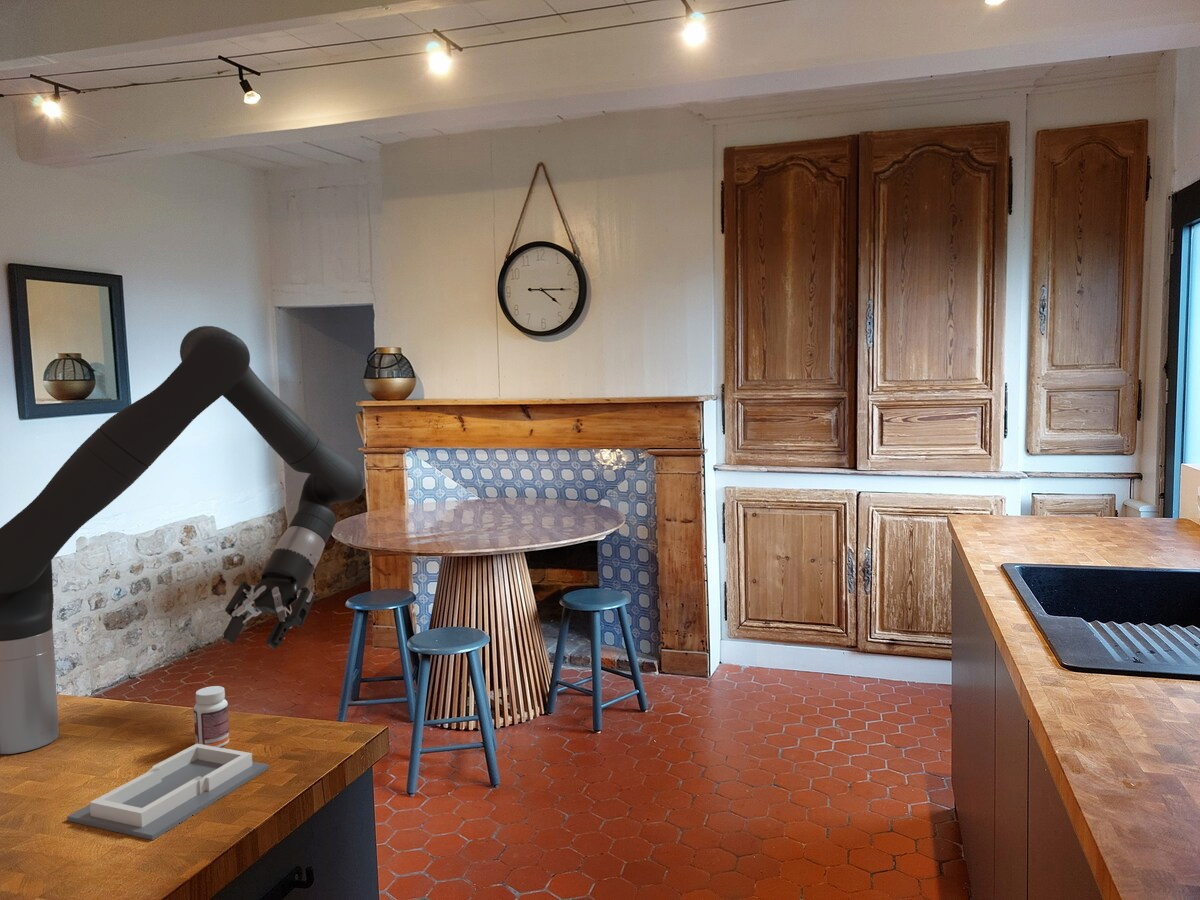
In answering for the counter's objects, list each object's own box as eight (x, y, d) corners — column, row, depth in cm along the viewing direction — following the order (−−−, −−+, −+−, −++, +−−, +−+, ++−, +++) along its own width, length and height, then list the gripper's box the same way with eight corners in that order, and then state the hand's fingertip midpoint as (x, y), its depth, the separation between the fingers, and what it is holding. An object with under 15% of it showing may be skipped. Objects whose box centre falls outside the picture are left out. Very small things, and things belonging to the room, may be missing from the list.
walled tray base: (67, 820, 107) (66, 802, 107) (192, 754, 126) (191, 738, 126) (152, 840, 102) (151, 821, 102) (268, 768, 121) (268, 752, 121)
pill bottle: (236, 739, 131) (234, 686, 131) (214, 752, 127) (212, 697, 126) (210, 735, 133) (208, 683, 132) (188, 748, 128) (185, 694, 127)
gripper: (249, 544, 146) (200, 628, 136) (318, 549, 141) (273, 636, 131) (272, 568, 151) (226, 650, 142) (339, 573, 147) (297, 659, 137)
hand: (249, 643), depth 137 cm, fingers open, 8 cm apart
